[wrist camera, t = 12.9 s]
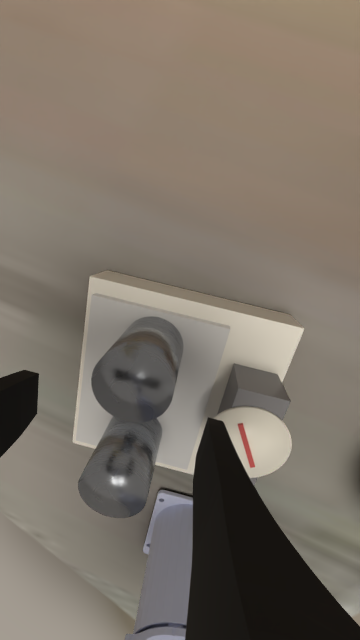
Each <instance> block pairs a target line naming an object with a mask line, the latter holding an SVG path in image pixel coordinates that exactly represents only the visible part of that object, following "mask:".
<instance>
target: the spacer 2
mask: <svg viewBox="0 0 360 640" xmlns="http://www.w3.org/2000/svg"><path fill="white" fill-rule="evenodd" d="M161 437H162V427H161V424H160V422H159V421H158V419H157V418H156V419H153V420H151V421H147V422H139V423H135V422H128V421H124V420H121V419H118V418H116V417H114V416H113V417H112V418H111V420H110V422H109V424H108V426H107V428H106V430H105V432H104V433H103V435H102V437H101V439H100V441H99V443H98V445H97V447H96V448H95V450H94V452H93V454H92V456H91V458H90V460H89V462H88V463H87V465H86V467H85V469H84V471H83V473H82V475H81V477H80V479H79V482H78V490H79V493H80V496H81V497H82V499H83V500H84V502H85V503H86V504H87V505H88V506H89V507H90V508H92V509H93V510H95V511H96V512H98V513H100V514H102V515H105V516H109V517H114V518H126V517H130V516H133V515H136V514H137V513H139V512H140V511H141V510H142V509H143V508H144V506H145V504H146V501H147V497H148V492H149V488H150V484H151V480H152V475H153V471H154V467H155V463H156V459H157V454H158V450H159V446H160V442H161Z"/></svg>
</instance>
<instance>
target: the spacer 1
mask: <svg viewBox="0 0 360 640" xmlns="http://www.w3.org/2000/svg"><path fill="white" fill-rule="evenodd" d="M182 354H183V339H182V336H181V334H180V332H179V331H178V329H177V328H176V327H175V326H174V325H173V324H172V323H170V322H169V321H167V320H165V319H163V318H160V317H154V316H149V317H143V318H140V319H138V320H136V321H134V322H133V323H132V324H131V325H130V326H129V327H128V328H127V329H126V331H125V332H124V333H123V334H122V335H121V336H120V337H119V338H118V340H117V341H116V342H115V343H114V344H113V345H112V346H111V348H110V349H109V350H108V351H107V352H106V353H105V354H104V356H103V357H102V358H101V359H100V360H99V361H98V363H97V364H96V365H95V367H94V369H93V372H92V377H91V385H92V390H93V393H94V396H95V398H96V400H97V401H98V403H99V404H100V405H101V406H102V408H103V409H104V410H106V411H107V412H108V413H109V414H111V415H112V416H114V417H116V418H118V419H121V420H124V421H128V422H135V423H139V422H147V421H151V420H153V419H156V418H157V417H159V416H161V415H162V414H163V413H164V412H165V411H166V410H167V409H168V407H169V406H170V404H171V401H172V398H173V394H174V389H175V385H176V381H177V376H178V372H179V367H180V363H181V359H182Z"/></svg>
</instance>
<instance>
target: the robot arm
mask: <svg viewBox="0 0 360 640" xmlns="http://www.w3.org/2000/svg"><path fill="white" fill-rule="evenodd" d="M38 378H39V373H35V372H31V371H27V370H23V371H19V372H16V373H13V374H10V375H8V376H5V377H2V378H0V457H1V456H2V455H3V454H4V453H5V452H6V451H7V450H8V449H9V448H10V447H11V446H12V444H13V443H14V442H15V441H16V440H17V439H18V438H19V437H20V436H21V434H22V433H23V432H24V430H25V429H26V428H27V427H28V425H29V424H30V422H31V421H32V420H33V418H34V417H35V415H36V414H37V401H38ZM143 552H144V553H146V554H148V559H147V565H146V570H145V575H144V580H143V585H142V591H141V596H140V601H139V606H138V612H137V617H136V622H135V627H134V633H133V634H126V636H125V640H360V626H359V625H358V624H357V623H356V622H355V621H354V620H353V619H352V618H351V616H350V615H349V614H348V613H347V612H346V611H345V610H344V609H343V608H342V606H341V605H340V604H339V603H338V602H337V601H336V599H335V598H334V597H333V596H332V595H331V593H330V592H329V591H328V590H327V589H326V587H325V586H324V585H323V584H322V583H321V581H320V580H319V579H318V578H317V577H316V575H315V574H314V573H313V571H312V570H311V569H310V568H309V566H308V565H307V564H306V563H305V561H304V560H303V559H302V557H301V556H300V555H299V553H298V552H297V551H296V549H295V548H294V547H293V545H292V544H291V543H290V541H289V540H288V539H287V537H286V536H285V534H284V533H283V532H282V530H281V529H280V527H279V526H278V524H277V523H276V521H275V520H274V518H273V517H272V515H271V514H270V512H269V511H268V509H267V507H266V506H265V504H264V502H263V501H262V499H261V497H260V496H259V494H258V492H257V490H256V489H255V487H254V485H253V483H252V482H251V480H250V478H249V476H248V474H247V472H246V470H245V468H244V466H243V464H242V462H241V460H240V458H239V456H238V454H237V452H236V450H235V447H234V445H233V443H232V441H231V438H230V436H229V434H228V431H227V429H226V426H225V424H224V422H223V421H221V420H217V419H213V418H209V417H208V419H207V422H206V425H205V429H204V432H203V435H202V438H201V441H200V444H199V448H198V451H197V454H196V460H195V469H194V478H193V498H192V497H189V496H185V495H181V494H178V493H174V492H170V491H166V490H160V491H159V492H158V495H157V498H156V502H155V506H154V510H153V513H152V517H151V521H150V525H149V528H148V532H147V536H146V539H145V543H144V547H143Z"/></svg>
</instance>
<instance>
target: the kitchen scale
mask: <svg viewBox="0 0 360 640" xmlns="http://www.w3.org/2000/svg"><path fill="white" fill-rule="evenodd" d="M149 316H154V317H160V318H163V319H165V320H167V321H169V322H170V323H172V324H173V325H174V326H175V327H176V328H177V329H178V331H179V332H180V334H181V336H182V339H183V354H182V359H181V363H180V367H179V372H178V376H177V381H176V385H175V389H174V394H173V398H172V401H171V404H170V406H169V407H168V409H167V410H166V411H165V412H164V413H163V414H162V415H161V416H159V417H157V419H158V421H159V422H160V424H161V427H162V437H161V442H160V446H159V450H158V454H157V459H156V463H155V465H158V466H162V467H166V468H170V469H173V470H177V471H181V472H185V473H188V474H192V475H194V469H195V460H196V454H197V451H198V448H199V444H200V441H201V438H202V435H203V432H204V429H205V425H206V422H207V419H208V417H209V418H213V419H217V420H221V421H223V422H224V424H225V426H226V429H227V431H228V434H229V436H230V438H231V441H232V443H233V445H234V447H235V450H236V452H237V454H238V456H239V458H240V460H241V462H242V464H243V466H244V468H245V470H246V472H247V474H248V476H249V478H250V480H251V482H252V483H253V485H255V482H256V480H257V478H258V477H261V476H265V475H268V474H270V473H272V472H274V471H276V470H277V469H278V468H280V467H281V466H282V465H283V464H284V463H285V462H286V460H287V459H288V457H289V455H290V452H291V448H292V441H291V436H290V433H289V430H288V428H287V426H286V425H285V424H284V422H283V421H282V420H283V418H284V416H285V414H286V411H287V409H288V407H289V404H290V402H291V401H290V399H289V397H288V395H287V393H286V390H285V388H284V386H283V384H282V382H283V380H284V377H285V375H286V372H287V370H288V367H289V365H290V362H291V360H292V358H293V355H294V353H295V350H296V348H297V345H298V343H299V341H300V338H301V336H302V333H303V331H304V328H303V327H302V326H301V325H300V324H299V323H298V322H297V321H296V320H295V319H294V318H293V317H292V316H291V315H290V314H286V313H282V312H278V311H273V310H269V309H265V308H261V307H257V306H253V305H249V304H245V303H240V302H236V301H232V300H228V299H224V298H220V297H216V296H212V295H207V294H203V293H199V292H195V291H191V290H187V289H183V288H179V287H174V286H170V285H166V284H162V283H158V282H154V281H150V280H146V279H141V278H137V277H133V276H129V275H125V274H121V273H117V272H113V271H108V270H106V271H103V272H101V273H98V274H95V275H92V276H90V279H89V289H88V298H87V308H86V317H85V327H84V337H83V346H82V356H81V365H80V375H79V384H78V394H77V404H76V413H75V423H74V432H73V442H72V443H76V444H79V445H83V446H87V447H91V448H94V449H95V448H96V447H97V445H98V443H99V441H100V439H101V437H102V435H103V433H104V432H105V430H106V428H107V426H108V424H109V422H110V420H111V418H112V417H113V416H112V415H111V414H109V413H108V412H107V411H106V410H104V409H103V408H102V406H101V405H100V404H99V403H98V401H97V400H96V398H95V396H94V393H93V390H92V385H91V377H92V372H93V369H94V367H95V365H96V364H97V363H98V361H99V360H100V359H101V358H102V357H103V356H104V354H105V353H106V352H107V351H108V350H109V349H110V348H111V346H112V345H113V344H114V343H115V342H116V341H117V340H118V338H119V337H120V336H121V335H122V334H123V333H124V332H125V331H126V329H127V328H128V327H129V326H130V325H131V324H132V323H133V322H134V321H136V320H138V319H140V318H143V317H149Z"/></svg>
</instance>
